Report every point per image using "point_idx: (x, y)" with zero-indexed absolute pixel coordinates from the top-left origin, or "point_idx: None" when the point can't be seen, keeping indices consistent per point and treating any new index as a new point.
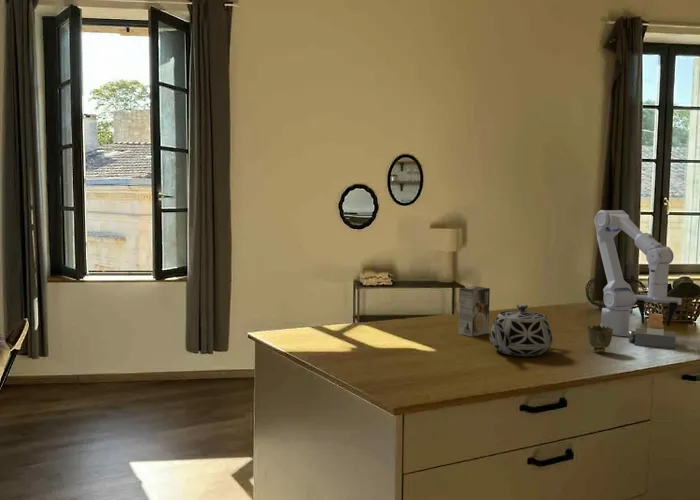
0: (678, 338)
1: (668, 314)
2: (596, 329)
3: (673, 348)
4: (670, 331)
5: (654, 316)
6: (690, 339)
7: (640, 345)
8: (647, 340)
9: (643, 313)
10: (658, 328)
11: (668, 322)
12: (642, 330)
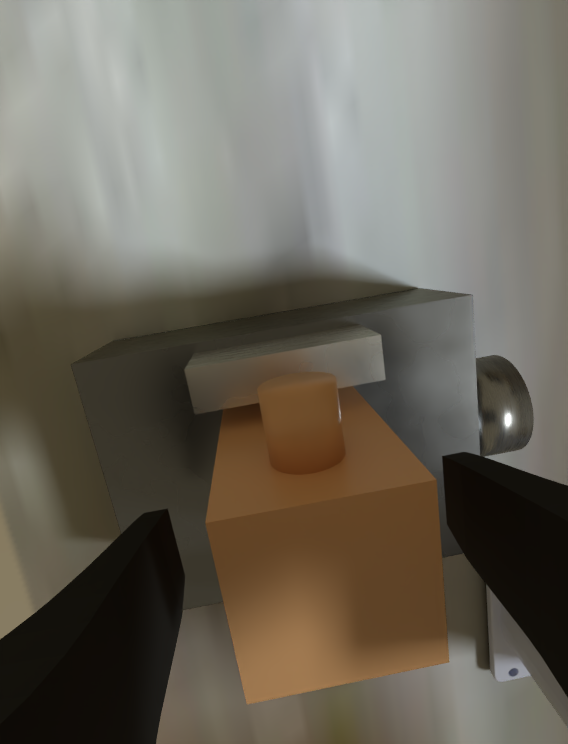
0: (176, 713)
1: (125, 664)
2: None
3: (119, 341)
4: None
5: (346, 490)
6: None
7: (375, 297)
8: (334, 310)
9: (552, 505)
10: (259, 424)
11: (139, 526)
12: None
